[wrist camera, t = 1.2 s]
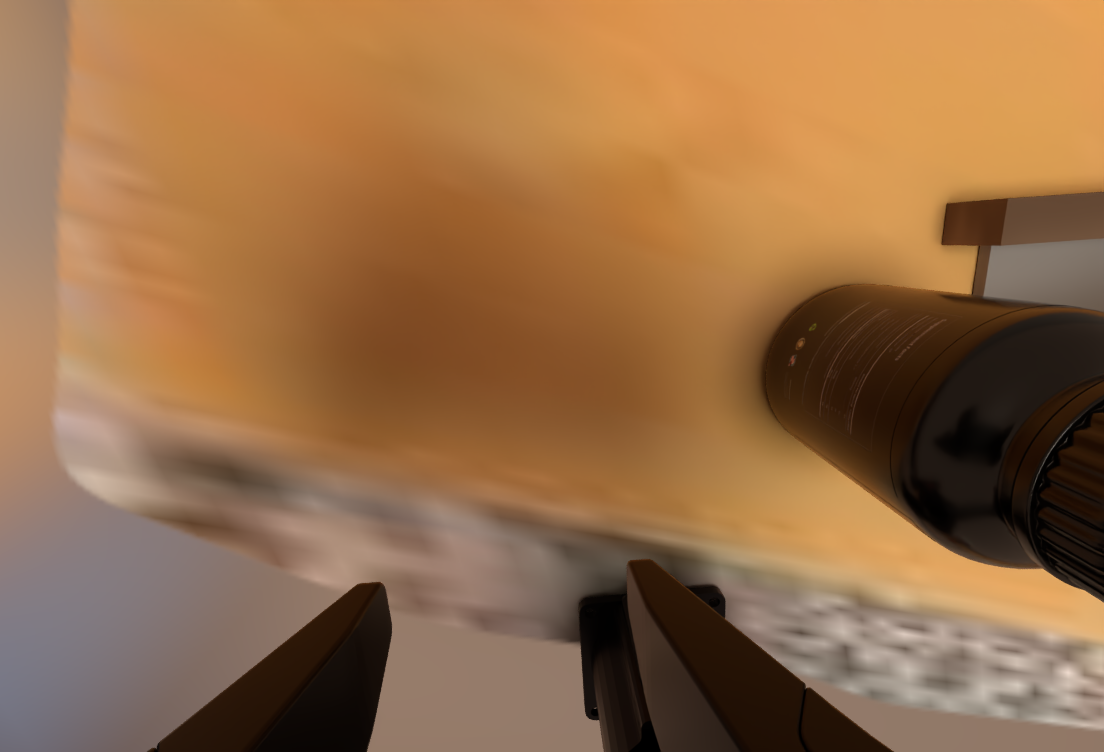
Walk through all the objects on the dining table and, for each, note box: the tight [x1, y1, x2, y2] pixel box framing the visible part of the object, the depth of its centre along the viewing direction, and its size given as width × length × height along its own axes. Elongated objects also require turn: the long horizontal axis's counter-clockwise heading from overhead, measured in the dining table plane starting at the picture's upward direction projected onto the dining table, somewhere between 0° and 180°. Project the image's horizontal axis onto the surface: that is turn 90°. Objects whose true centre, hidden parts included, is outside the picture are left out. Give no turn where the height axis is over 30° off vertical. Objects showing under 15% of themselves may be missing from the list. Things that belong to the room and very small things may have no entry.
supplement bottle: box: [766, 284, 1104, 602], centre depth 15 cm, size 7×7×12 cm
